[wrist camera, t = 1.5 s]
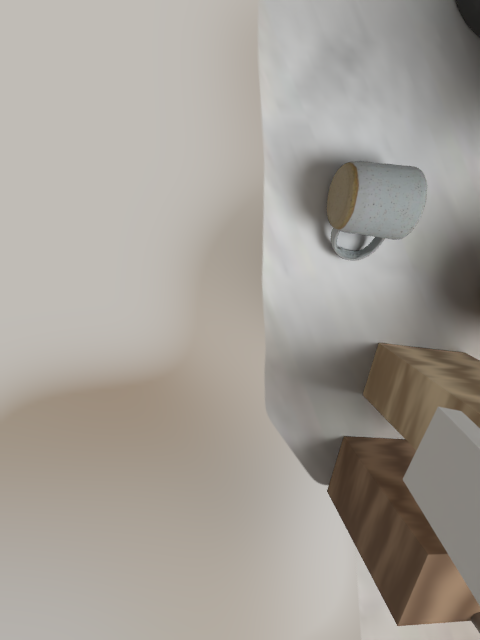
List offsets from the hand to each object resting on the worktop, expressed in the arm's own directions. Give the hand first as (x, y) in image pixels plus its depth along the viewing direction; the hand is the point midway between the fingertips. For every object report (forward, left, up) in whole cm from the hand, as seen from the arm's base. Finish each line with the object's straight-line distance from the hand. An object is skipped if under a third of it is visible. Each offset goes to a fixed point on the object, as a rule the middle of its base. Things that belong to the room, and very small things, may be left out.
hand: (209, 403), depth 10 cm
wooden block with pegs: (+3, +45, -33) cm, 56 cm away
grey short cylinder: (-17, +12, -33) cm, 39 cm away
